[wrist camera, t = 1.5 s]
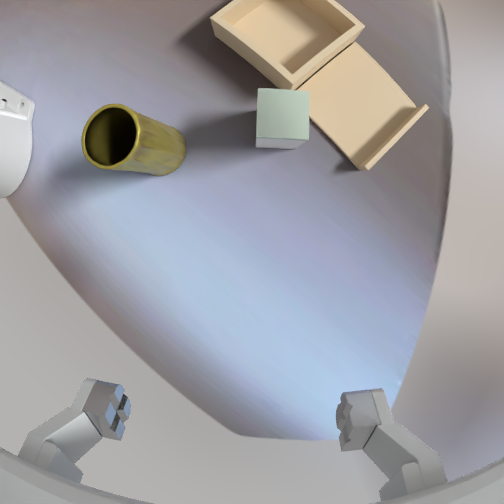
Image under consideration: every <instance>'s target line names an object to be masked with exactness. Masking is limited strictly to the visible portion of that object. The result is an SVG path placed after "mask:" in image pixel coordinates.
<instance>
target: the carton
mask: <svg viewBox="0 0 504 504" xmlns="http://www.w3.org/2000/svg"><path fill="white" fill-rule="evenodd" d="M308 140H309V91H299V90H286V89H269V88H258V100H257V124H256V147H260V148H282V149H296V148H297V147H299V146H300V145H301V144H303V143H304V142H306V141H308Z"/></svg>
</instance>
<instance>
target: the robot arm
mask: <svg viewBox="0 0 504 504" xmlns="http://www.w3.org/2000/svg"><path fill="white" fill-rule="evenodd" d="M23 105H24V106H23ZM34 107H35V104H34V101H33V100H31V99H29V98H28V97H26V96H25V95H23V94H21V93H20V92H18V91H17V90H15V89H13V88H12V87H10V86H8V85H7V84H5V83H4V82H2V81H0V198H5V197H7V196H9V195H11V194H12V193H13V192H14V191H15V190H16V189H17V188H18V186H19V185H20V184H21V182H22V180H23V178H24V176H25V174H26V171H27V169H28V165H29V162H30V157H31V151H32V129H31V122H32V117H33V113H34ZM123 393H124V388H123V386H122V385H120V384H114V383H108V382H103V381H99V380H94V379H90V378H87V379H86V380H84V382H83V384H82V386H81V388H80V390H79V392H78V394H77V396H76V398H75V400H74V402H73V404H72V406H71V408H66V409H65V410H63V411H62V412H60V413H59V414H57V415H55V416H54V417H52V418H51V419H50V420H48V421H46V422H45V423H43V424H42V425H40V426H39V427H37V428H36V429H34V430H32V431H31V432H30V433H29V434H28V436H27V438H26V440H25V442H24V444H23V446H22V448H21V450H20V452H19V455H18V456H16V455H14V454H12V453H10V452H8V451H6V450H5V449H3V448H1V447H0V504H153V503H148V502H143V501H139V500H135V499H130V498H127V497H123V496H119V495H115V494H112V493H108V492H105V491H102V490H98V489H95V488H92V487H89V486H86V485H83V484H80V481H81V479H82V475H83V473H82V471H81V470H80V469H79V468H78V467H77V466H76V465H75V464H74V463H76V462H77V461H78V460H79V459H80V458H81V457H82V456H83V455H84V454H85V453H87V452H88V451H89V450H90V449H91V448H92V447H93V446H94V445H95V444H96V443H98V442H99V441H100V440H101V439H102V437H105V438H110V439H115V440H121V439H122V436H123V433H124V430H125V426H124V423H123V422H125V421H126V420H127V419H128V418H129V415H130V407H131V405H130V401H129V399H128V397H127V396H126V395H125V394H123ZM340 399H341V403H340V404H339V405H338V407H337V410H336V423H337V428H338V429H339V430H340V431H341V434H340V436H339V441H340V446H341V451H351V450H360V449H363V451H364V452H365V453H366V454H367V455H368V457H369V458H370V459H371V460H372V461H373V462H374V463H375V464H376V465H377V466H378V467H379V468H380V470H381V471H382V472H383V473H384V474H385V475H386V476H387V477H388V478H389V479H390V480H389V481H388V482H387V483H386V484H385V485H384V486H383V487H382V488H381V489H380V491H379V492H380V498H381V502H376V503H371V504H504V457H503V458H501V459H499V460H497V461H495V462H493V463H491V464H489V465H487V466H485V467H482V468H480V469H478V470H476V471H473V472H471V473H469V474H466V475H464V476H461V477H459V478H456V479H454V480H451V481H449V482H448V481H447V478H446V475H445V472H444V469H443V466H442V463H441V460H440V457H439V454H437V453H436V452H435V451H434V450H433V449H431V448H430V447H429V446H427V445H426V444H425V443H424V442H422V441H421V440H420V439H419V438H417V437H416V436H415V435H414V434H412V433H411V432H410V431H409V430H407V429H406V428H405V427H403V426H402V425H401V424H400V423H399V422H394V419H393V416H392V413H391V410H390V407H389V404H388V401H387V398H386V395H385V393H384V390H383V389H382V388H379V389H372V390H361V391H352V392H343V393H342V395H341V398H340Z"/></svg>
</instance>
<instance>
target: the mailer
mask: <svg viewBox="0 0 504 504" xmlns="http://www.w3.org/2000/svg"><path fill="white" fill-rule="evenodd" d="M210 19H211V23H212V27H213V30H214V34H215V36H216V37H217V38H218V39H220V40H221V41H222V42H224V43H225V44H226V45H228V46H229V47H230V48H231V49H233V50H234V51H235V52H236V53H238V54H239V55H240V56H241V57H243V58H244V59H245V60H246V61H247V62H249V63H250V64H251V65H252V66H253V67H255V68H256V69H257V70H258V71H259V72H261V73H262V74H263V75H264V76H265V77H266V78H267V79H269V80H270V81H271V82H272V83H273V84H274V85H275V86H276V87H278V88H279V89H286V90H296V89H297V88H298V87H299V86H300V85H302V84H303V83H304V82H305V81H306V80H307V79H309V78H310V77H311V76H312V75H313V74H314V73H316V72H317V71H318V70H319V69H320V68H322V67H323V66H324V65H325V64H326V63H328V62H329V61H330V60H331V59H333V58H334V57H335V56H336V55H337V54H339V53H340V52H341V51H343V50H344V49H345V48H346V47H348V46H349V45H350V44H351V43H353V42H354V40H355V39H356V38H357V36H358V35H359V34H360V33H361V31H362V30H363V29H364V27H365V26H364V25H363V24H362V23H361V22H360V21H359V20H357V19H356V18H355V17H354V16H353V15H352V14H350V13H349V12H348V11H347V10H346V9H344V8H343V7H342V6H341V5H340V4H338V3H337V2H336V1H335V0H233V1H232V2H230V3H229V4H228V5H226V6H225V7H223V8H222V9H221V10H219V11H218V12H217V13H216V14H214V15H213V16H212V17H210ZM297 90H299V91H309V118H310V119H311V120H312V121H313V122H314V123H315V124H316V125H317V126H318V127H319V128H320V129H321V130H322V131H323V132H324V133H325V134H326V135H327V136H328V137H329V138H330V139H331V140H332V141H333V142H334V143H335V144H336V145H337V147H338V148H339V149H340V150H341V151H342V152H343V153H344V154H345V155H346V156H347V157H348V159H349V160H350V161H351V162H352V163H353V164H354V165H355V166H356V168H357V169H358V170H359V171H364V170H369V169H370V168H371V167H372V166H373V165H374V164H375V163H376V162H377V161H378V160H379V159H380V158H381V157H382V156H383V155H384V154H385V153H386V152H387V151H388V150H389V149H390V148H391V147H392V146H393V145H394V144H395V143H396V142H397V140H398V139H399V138H400V137H401V136H402V135H403V134H404V133H405V132H406V131H407V130H408V129H409V128H410V127H411V126H412V125H413V124H414V123H415V122H416V121H417V120H418V119H419V118H420V117H421V116H422V115H423V114H424V113H425V111H426V110H427V109H428V108H429V107H428V106H427V105H426V104H425V105H422V106H419V107H416V106H415V105H414V103H413V102H412V101H411V100H410V99H409V97H408V96H407V95H406V94H405V93H404V92H403V90H402V89H401V88H400V87H399V86H398V85H397V84H396V82H395V81H394V80H393V79H392V78H391V77H390V76H389V75H388V74H387V73H386V72H385V71H384V70H383V68H382V67H381V66H380V65H379V64H378V63H377V62H376V61H375V60H374V59H373V58H372V57H371V56H370V55H369V54H368V53H367V52H366V51H365V50H364V49H363V48H362V47H360V46H359V45H358V44H357V43H356V42H354V43H353V44H352V45H350V46H349V47H348V48H347V49H345V50H344V51H343V52H342V53H340V54H339V55H338V56H337V57H335V58H334V59H333V60H332V61H330V62H329V63H328V64H327V65H326V66H324V67H323V68H322V69H321V70H320V71H318V72H317V73H316V74H315V75H314V76H313V77H311V78H310V79H309V80H308V81H307V82H306V83H304V84H303V85H302V86H301V87H300V88H299V89H297Z"/></svg>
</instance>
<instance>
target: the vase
mask: <svg viewBox="0 0 504 504" xmlns="http://www.w3.org/2000/svg"><path fill="white" fill-rule="evenodd" d="M81 141H82V149H83V153H84V155H85V157H86V158H87V160H88V161H89V162H90V163H91V164H93V165H95V166H96V167H98V168H100V169H109V170H122V171H134V172H143V173H150V174H152V175H155V176H164V175H168V174H170V173H172V172H174V171H175V170H176V169H177V168H178V167H179V166H180V165H181V163H182V162H183V160H184V157H185V153H186V144H185V140H184V138H183V136H182V134H181V133H180V132H179V131H178V130H176V129H175V128H173V127H170V126H167V125H166V124H163V123H161V122H159V121H156V120H153V119H151V118H149V117H147V116H144V115H142V114H140V113H137V112H135V111H133V110H132V109H130V108H128V107H126V106H124V105H122V104H108V105H105V106H103V107H101V108H100V109H98V110H97V111H96V112H94V113H93V114H92V116H91V117H90V118H89V120H88V121H87V123H86V125H85V127H84V129H83V133H82V139H81Z"/></svg>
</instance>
